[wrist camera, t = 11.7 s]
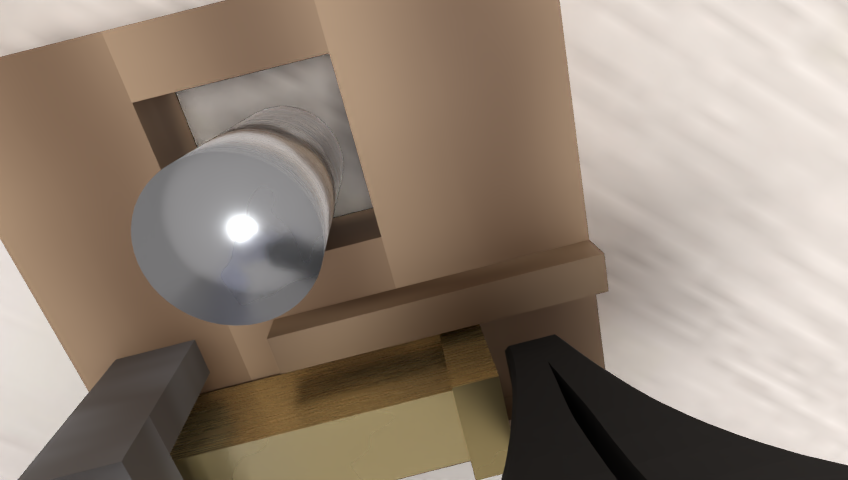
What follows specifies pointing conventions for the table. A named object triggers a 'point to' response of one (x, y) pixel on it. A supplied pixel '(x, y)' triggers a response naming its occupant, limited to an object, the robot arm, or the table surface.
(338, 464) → the lock pin
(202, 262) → the cylinder
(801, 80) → the table surface
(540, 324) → the dock
